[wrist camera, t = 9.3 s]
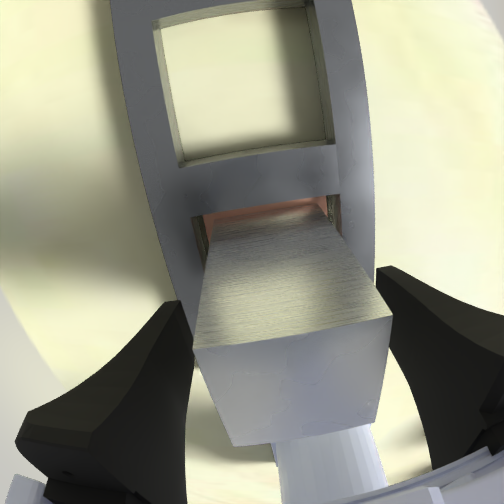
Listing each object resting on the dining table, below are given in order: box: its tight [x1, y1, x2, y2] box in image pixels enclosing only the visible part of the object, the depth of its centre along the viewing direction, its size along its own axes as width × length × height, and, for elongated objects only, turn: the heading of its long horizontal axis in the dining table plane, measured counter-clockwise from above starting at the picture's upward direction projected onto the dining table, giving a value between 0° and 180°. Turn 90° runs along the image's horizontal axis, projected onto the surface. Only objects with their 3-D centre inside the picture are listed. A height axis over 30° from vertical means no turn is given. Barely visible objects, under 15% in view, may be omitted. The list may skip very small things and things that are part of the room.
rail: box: [110, 0, 375, 338], centre depth 13 cm, size 22×9×2 cm, turn 9°
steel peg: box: [192, 203, 393, 447], centre depth 11 cm, size 4×4×8 cm
